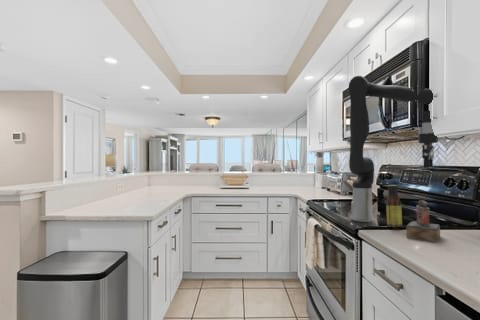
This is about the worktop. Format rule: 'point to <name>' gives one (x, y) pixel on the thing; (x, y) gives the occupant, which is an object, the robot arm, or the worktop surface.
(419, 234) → the grey slab
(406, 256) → the worktop surface
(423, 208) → the lighter
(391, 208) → the sauce bottle
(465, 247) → the worktop surface
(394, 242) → the worktop surface
